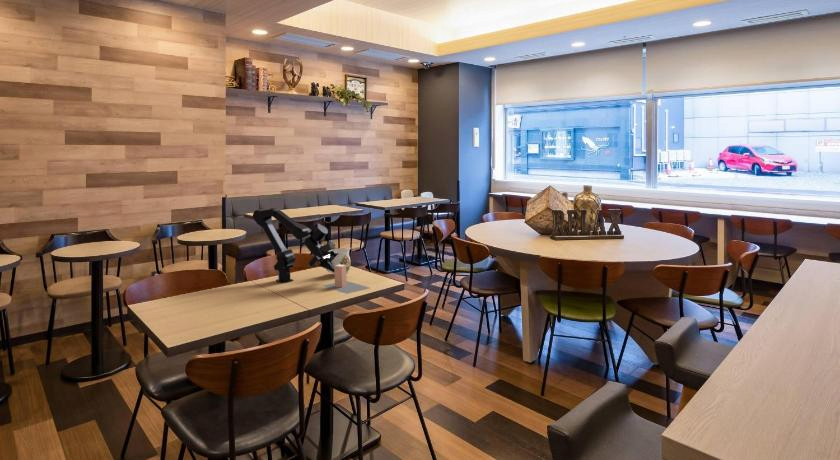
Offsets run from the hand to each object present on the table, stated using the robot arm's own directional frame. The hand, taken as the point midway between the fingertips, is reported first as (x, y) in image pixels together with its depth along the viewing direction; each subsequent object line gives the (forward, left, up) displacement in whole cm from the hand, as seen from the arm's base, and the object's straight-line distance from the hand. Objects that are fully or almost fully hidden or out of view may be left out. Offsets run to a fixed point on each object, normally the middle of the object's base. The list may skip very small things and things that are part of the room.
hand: (335, 271), depth 243 cm
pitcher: (-17, +14, -8) cm, 24 cm away
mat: (+6, +2, -7) cm, 10 cm away
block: (+3, +1, -7) cm, 7 cm away
